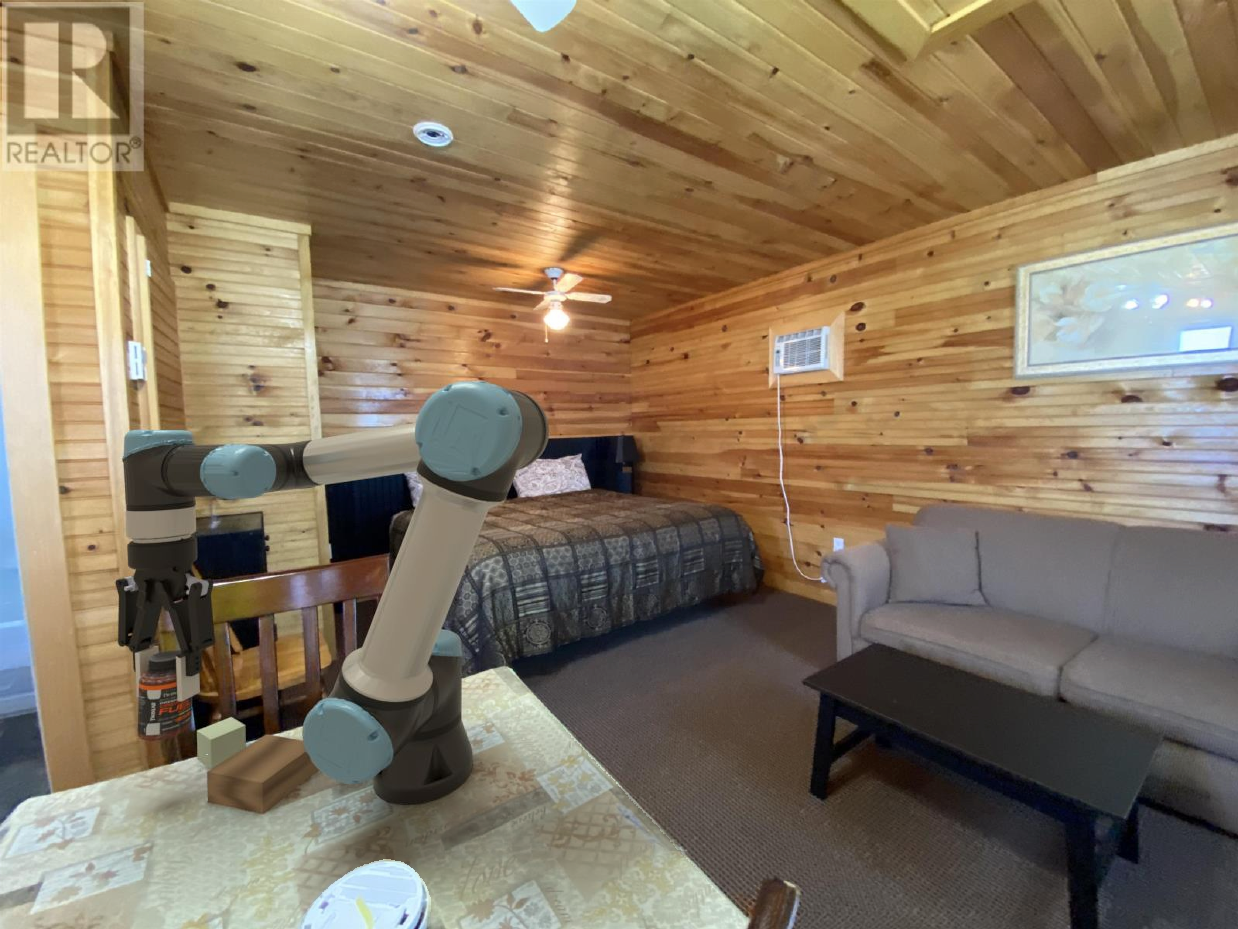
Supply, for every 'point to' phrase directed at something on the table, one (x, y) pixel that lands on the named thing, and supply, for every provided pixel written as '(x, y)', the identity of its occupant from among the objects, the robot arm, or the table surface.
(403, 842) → the table surface
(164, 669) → the supplement bottle
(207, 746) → the sage block
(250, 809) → the walnut block
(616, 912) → the table surface
